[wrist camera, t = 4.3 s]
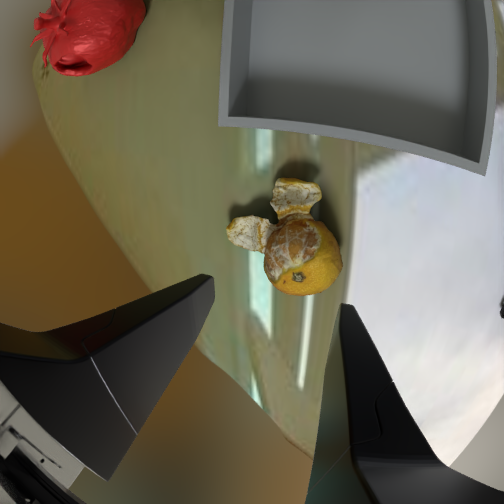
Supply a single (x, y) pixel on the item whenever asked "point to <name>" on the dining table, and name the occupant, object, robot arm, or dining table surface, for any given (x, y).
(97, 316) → the robot arm
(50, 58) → the pomegranate
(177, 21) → the dining table surface
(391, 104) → the serving bin
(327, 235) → the fruit
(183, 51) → the dining table surface
